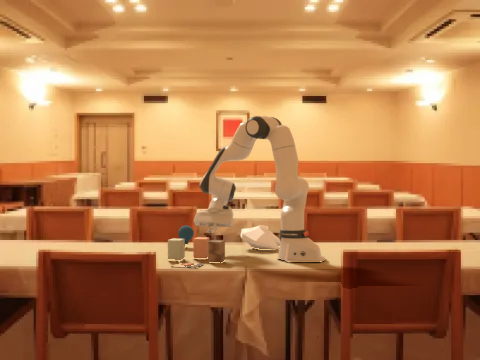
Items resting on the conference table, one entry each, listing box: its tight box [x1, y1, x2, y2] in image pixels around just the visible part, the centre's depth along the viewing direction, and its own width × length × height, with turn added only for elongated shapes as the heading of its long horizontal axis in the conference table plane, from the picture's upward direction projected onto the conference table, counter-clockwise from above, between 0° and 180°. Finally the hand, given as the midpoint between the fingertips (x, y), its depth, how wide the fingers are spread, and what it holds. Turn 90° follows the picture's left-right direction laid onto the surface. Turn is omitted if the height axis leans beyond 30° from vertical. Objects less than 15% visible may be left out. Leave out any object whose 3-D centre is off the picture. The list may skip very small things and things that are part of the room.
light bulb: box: [177, 225, 195, 245], centre depth 294 cm, size 8×8×12 cm
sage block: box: [167, 237, 186, 260], centre depth 256 cm, size 6×6×10 cm
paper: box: [240, 224, 280, 249], centre depth 289 cm, size 25×24×12 cm
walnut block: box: [207, 239, 226, 263], centre depth 250 cm, size 6×6×10 cm
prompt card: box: [181, 262, 205, 267], centre depth 242 cm, size 12×9×1 cm
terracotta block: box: [192, 236, 211, 258], centre depth 259 cm, size 6×6×10 cm
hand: (210, 231), depth 272 cm, fingers closed
